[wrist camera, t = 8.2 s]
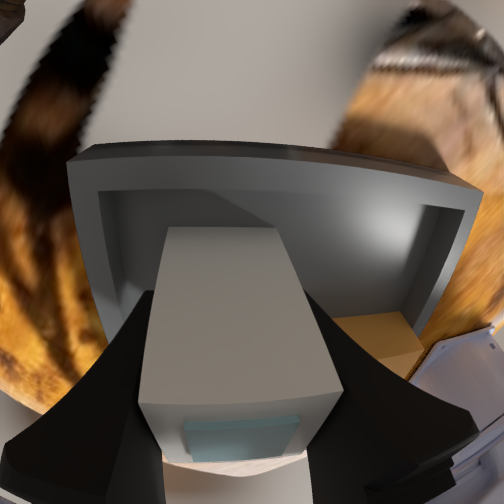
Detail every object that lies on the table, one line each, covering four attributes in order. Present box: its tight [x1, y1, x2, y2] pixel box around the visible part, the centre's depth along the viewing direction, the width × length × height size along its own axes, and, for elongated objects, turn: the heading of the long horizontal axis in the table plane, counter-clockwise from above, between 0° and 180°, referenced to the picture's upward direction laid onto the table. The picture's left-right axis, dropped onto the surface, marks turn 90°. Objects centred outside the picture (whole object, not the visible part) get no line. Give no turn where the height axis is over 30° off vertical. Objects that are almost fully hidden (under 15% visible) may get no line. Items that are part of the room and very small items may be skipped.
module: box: [138, 227, 344, 463], centre depth 9 cm, size 4×4×7 cm
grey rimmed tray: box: [66, 140, 484, 379], centre depth 14 cm, size 16×18×4 cm
